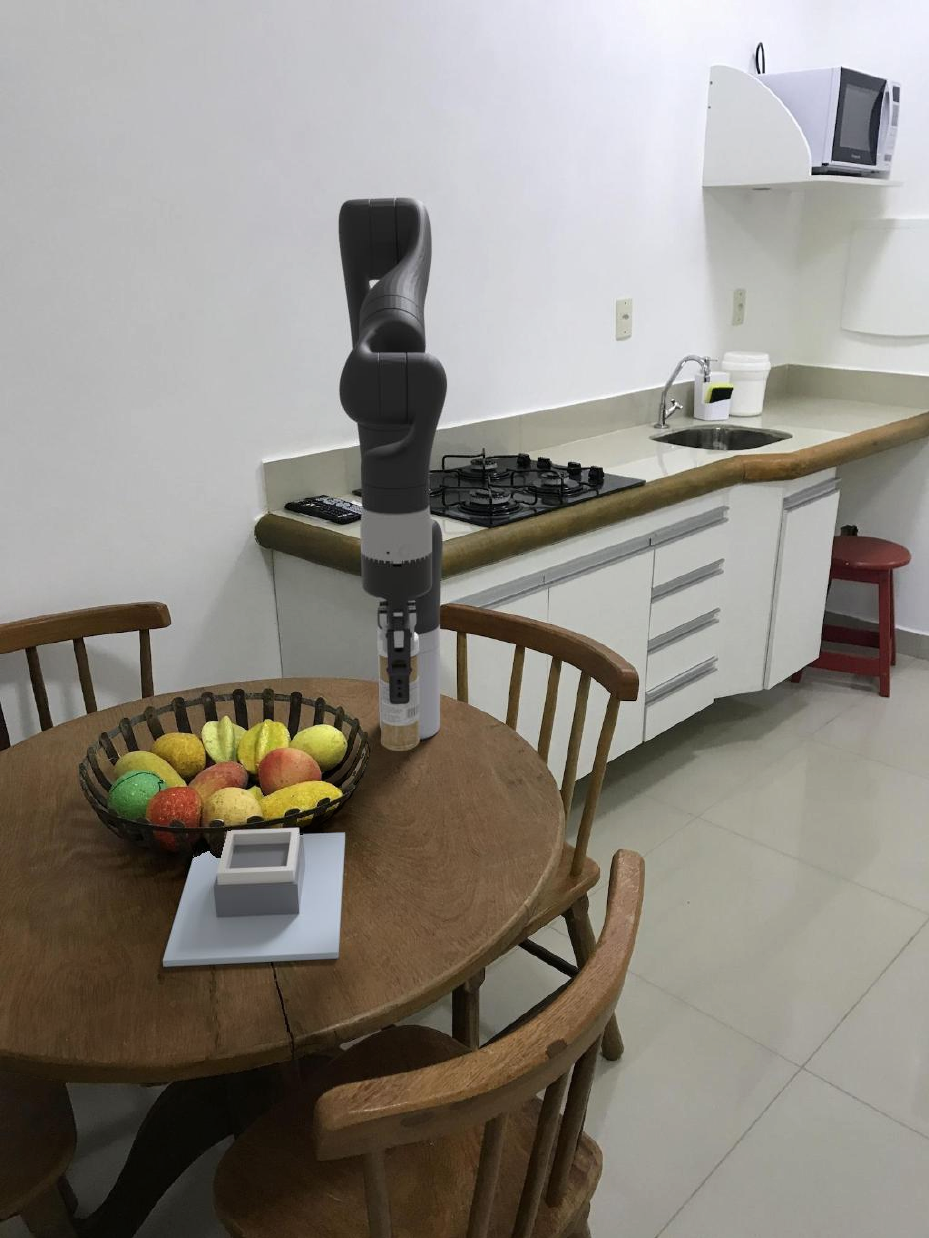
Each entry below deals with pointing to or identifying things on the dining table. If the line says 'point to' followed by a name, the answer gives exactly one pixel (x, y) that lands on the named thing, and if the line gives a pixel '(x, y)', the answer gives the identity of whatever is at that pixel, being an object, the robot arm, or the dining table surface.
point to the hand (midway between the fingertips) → (399, 691)
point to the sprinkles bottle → (399, 705)
